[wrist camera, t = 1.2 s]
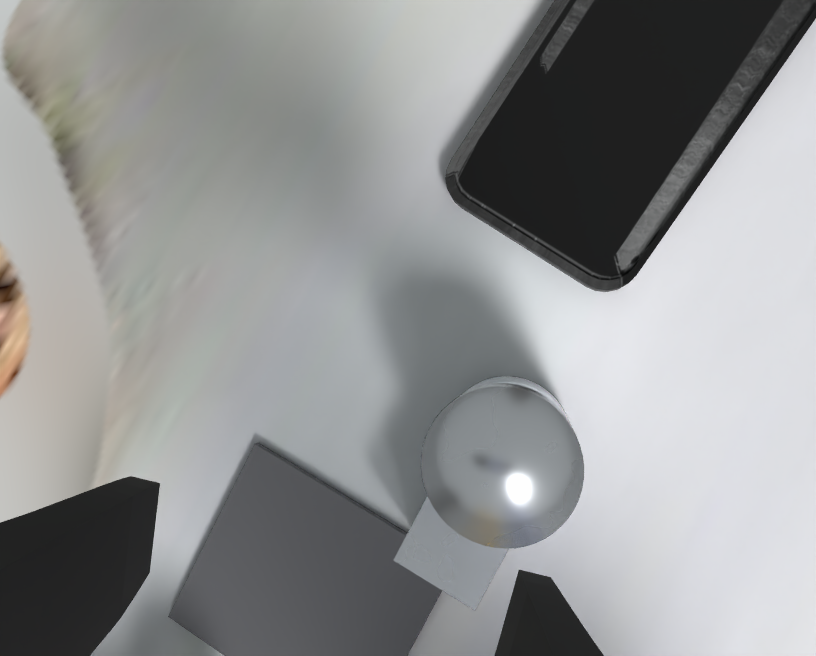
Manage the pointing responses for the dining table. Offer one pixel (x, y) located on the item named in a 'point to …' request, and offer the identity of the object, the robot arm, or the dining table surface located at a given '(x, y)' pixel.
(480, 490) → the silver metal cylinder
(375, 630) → the mat
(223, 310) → the dining table surface
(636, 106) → the phone
